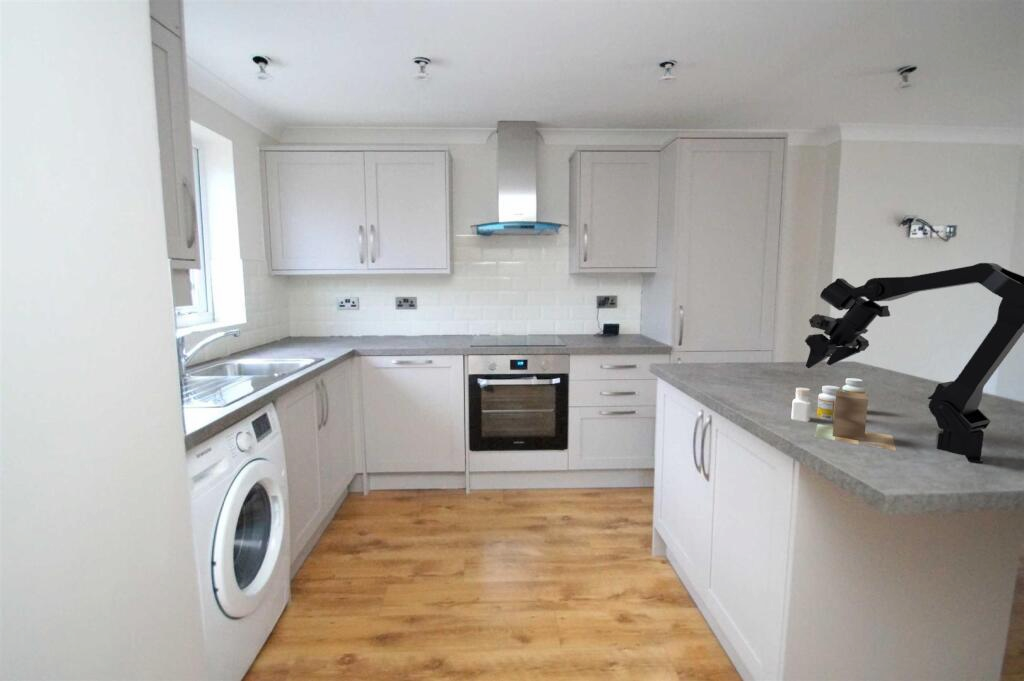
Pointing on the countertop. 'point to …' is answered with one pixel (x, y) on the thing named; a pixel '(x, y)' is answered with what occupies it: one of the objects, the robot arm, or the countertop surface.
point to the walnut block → (850, 415)
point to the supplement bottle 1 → (827, 402)
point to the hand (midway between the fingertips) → (817, 365)
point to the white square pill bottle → (801, 405)
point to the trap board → (870, 437)
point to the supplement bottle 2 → (853, 386)
